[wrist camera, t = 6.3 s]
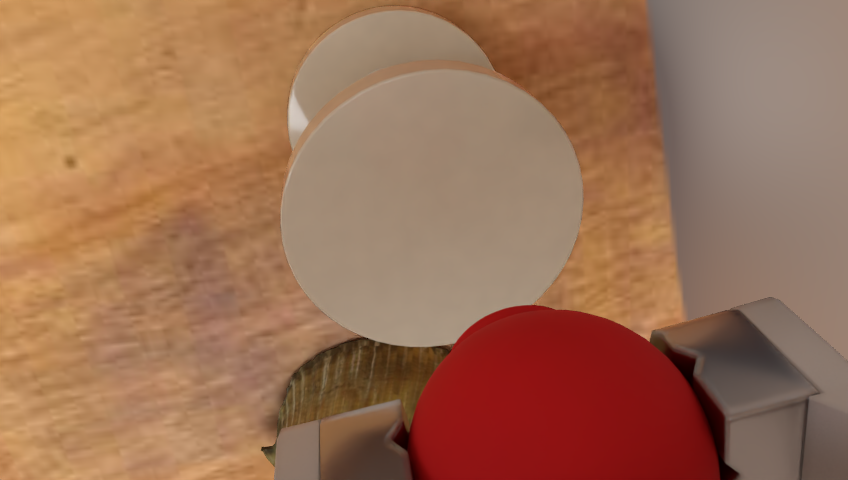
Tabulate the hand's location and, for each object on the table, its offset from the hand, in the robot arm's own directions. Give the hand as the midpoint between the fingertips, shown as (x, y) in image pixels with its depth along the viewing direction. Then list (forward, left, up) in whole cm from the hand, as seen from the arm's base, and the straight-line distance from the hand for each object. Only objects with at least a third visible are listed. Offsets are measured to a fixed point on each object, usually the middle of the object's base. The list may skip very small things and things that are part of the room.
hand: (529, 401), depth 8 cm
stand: (0, 0, -12) cm, 12 cm away
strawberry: (0, 0, -1) cm, 1 cm away
